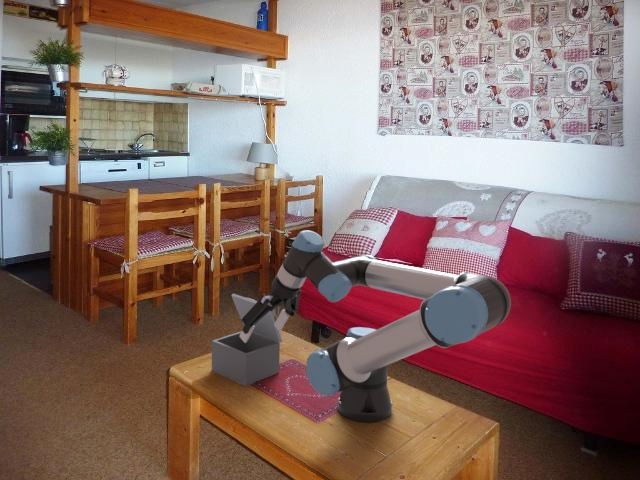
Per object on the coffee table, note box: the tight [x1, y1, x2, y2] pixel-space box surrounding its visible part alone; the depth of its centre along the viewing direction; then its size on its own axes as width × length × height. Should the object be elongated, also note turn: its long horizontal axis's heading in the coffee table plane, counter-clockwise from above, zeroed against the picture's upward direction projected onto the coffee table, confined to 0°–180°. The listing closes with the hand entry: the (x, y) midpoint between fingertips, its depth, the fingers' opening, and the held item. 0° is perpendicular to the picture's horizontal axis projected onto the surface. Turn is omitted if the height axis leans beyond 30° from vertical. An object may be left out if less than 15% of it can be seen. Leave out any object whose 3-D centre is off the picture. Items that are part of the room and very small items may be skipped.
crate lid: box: [231, 293, 283, 344], centre depth 194 cm, size 16×14×1 cm
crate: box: [211, 330, 281, 387], centre depth 193 cm, size 16×14×10 cm
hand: (260, 333), depth 177 cm, fingers open, 13 cm apart
